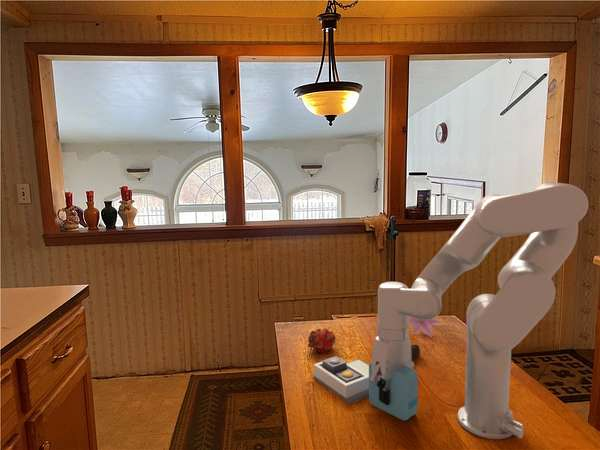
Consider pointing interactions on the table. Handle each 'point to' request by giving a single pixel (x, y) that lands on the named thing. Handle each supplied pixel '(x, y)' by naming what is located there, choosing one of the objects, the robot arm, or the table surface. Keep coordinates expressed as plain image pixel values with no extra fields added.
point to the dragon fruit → (321, 340)
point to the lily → (422, 325)
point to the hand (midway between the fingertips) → (392, 398)
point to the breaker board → (344, 390)
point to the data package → (398, 393)
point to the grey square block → (334, 365)
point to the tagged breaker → (347, 375)
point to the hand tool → (415, 352)
